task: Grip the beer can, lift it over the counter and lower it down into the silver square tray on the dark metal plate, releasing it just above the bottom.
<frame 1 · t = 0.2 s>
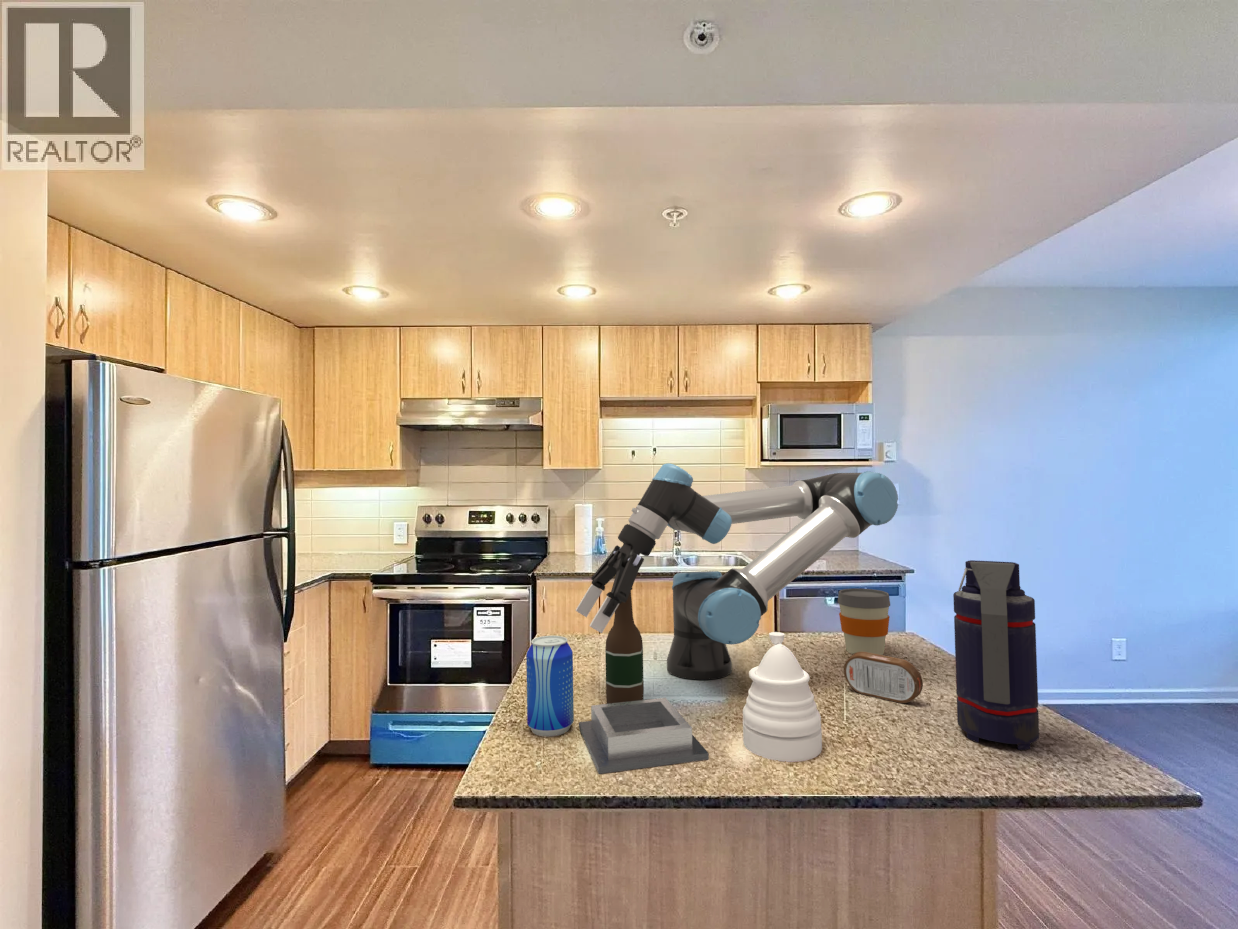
hand: (587, 621, 122), 16 cm above the countertop, tool tilted 35°, fingers open, 13 cm apart
grenade: (997, 739, 102), on the countertop
beer can: (550, 729, 110), on the countertop
tin: (881, 698, 122), on the countertop
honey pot: (781, 745, 102), on the countertop
silver square tray: (639, 742, 103), on the countertop
beer bottle: (625, 705, 121), on the countertop
reusable coffee cup: (865, 652, 155), on the countertop
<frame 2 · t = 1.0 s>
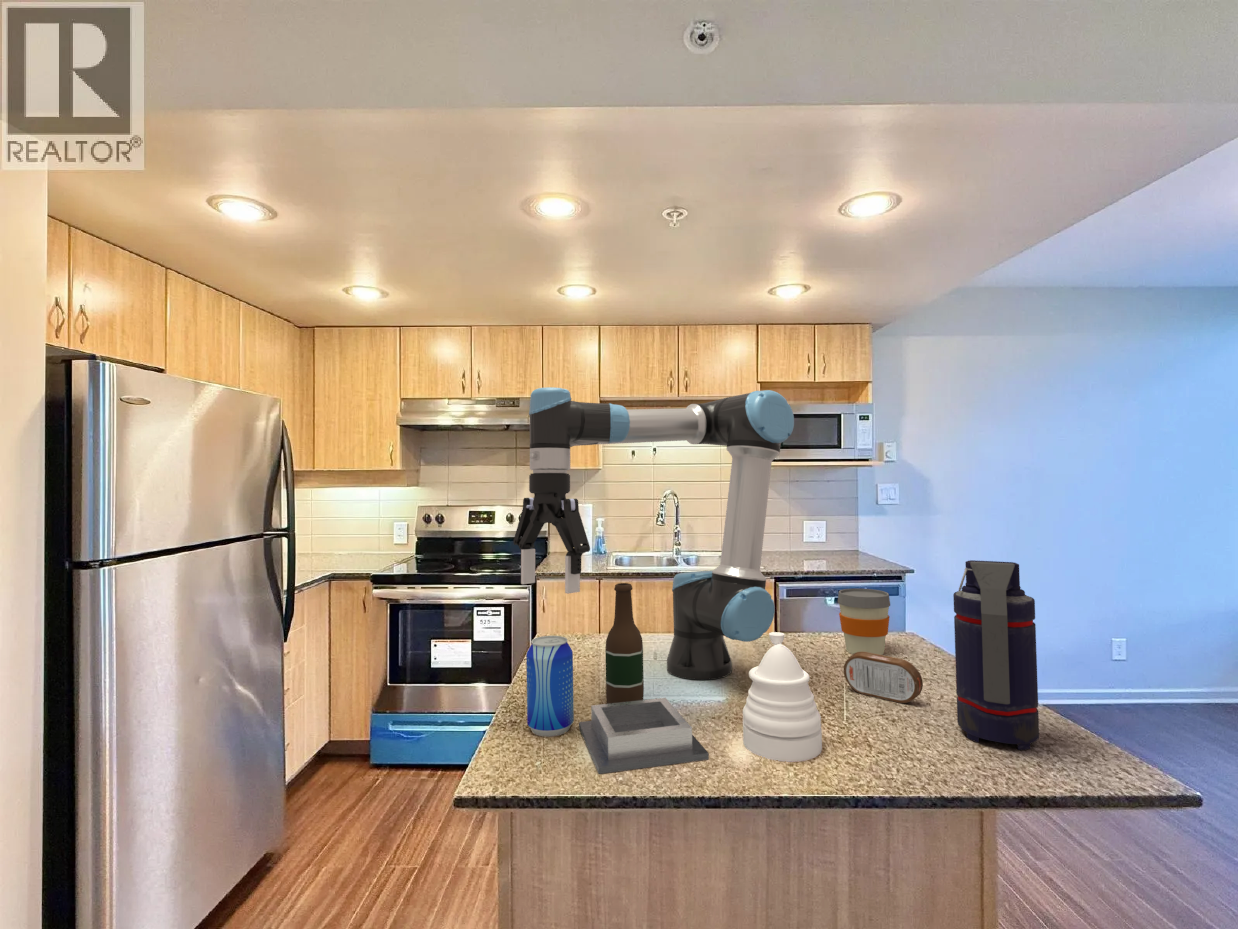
hand: (549, 587, 111), 25 cm above the countertop, tool pointing down, fingers open, 13 cm apart
nothing on the countertop moved.
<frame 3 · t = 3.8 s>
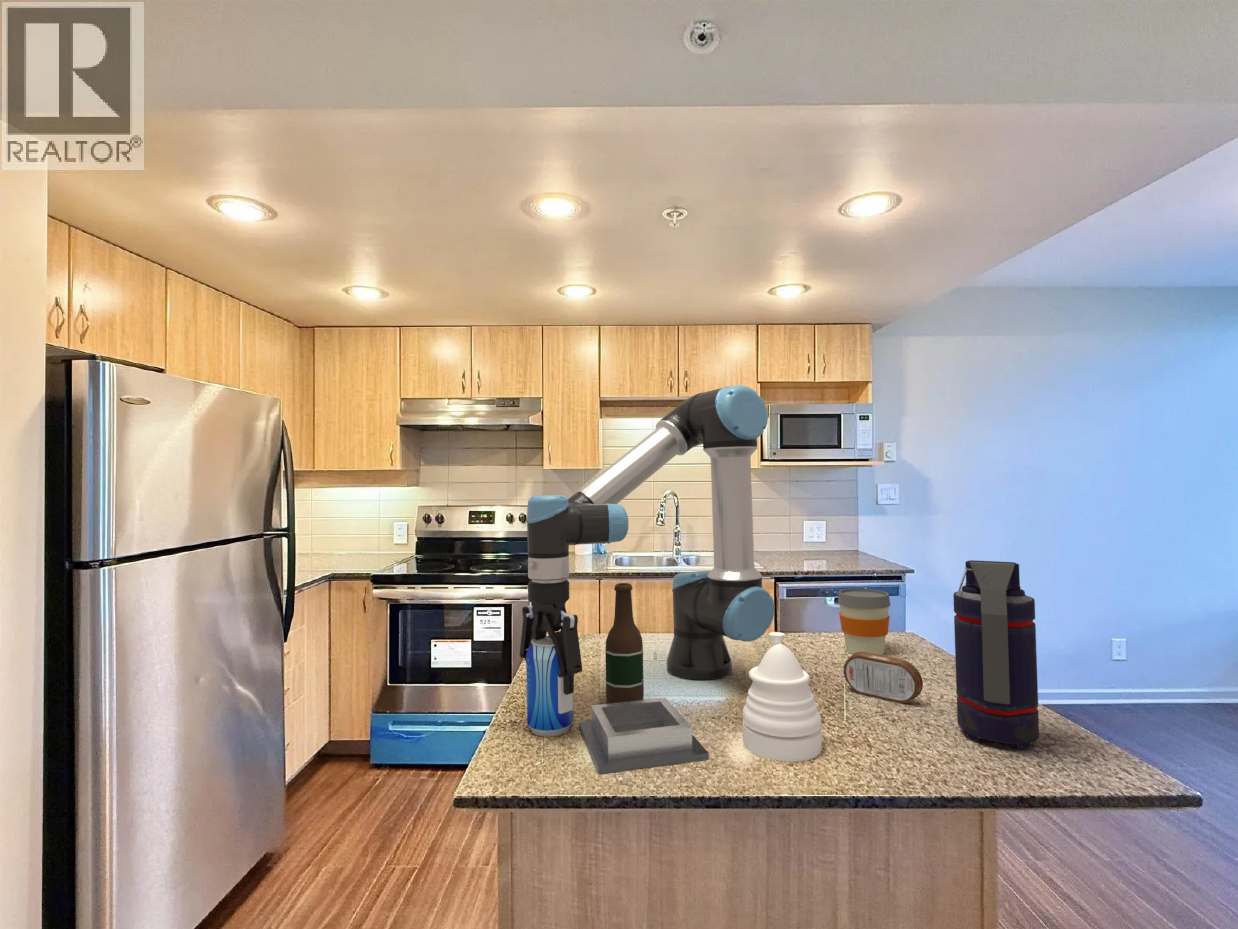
hand: (550, 704, 110), 4 cm above the countertop, tool pointing down, fingers closed on beer can, 8 cm apart
beer can: (550, 729, 110), on the countertop, touching gripper
everything else where it was.
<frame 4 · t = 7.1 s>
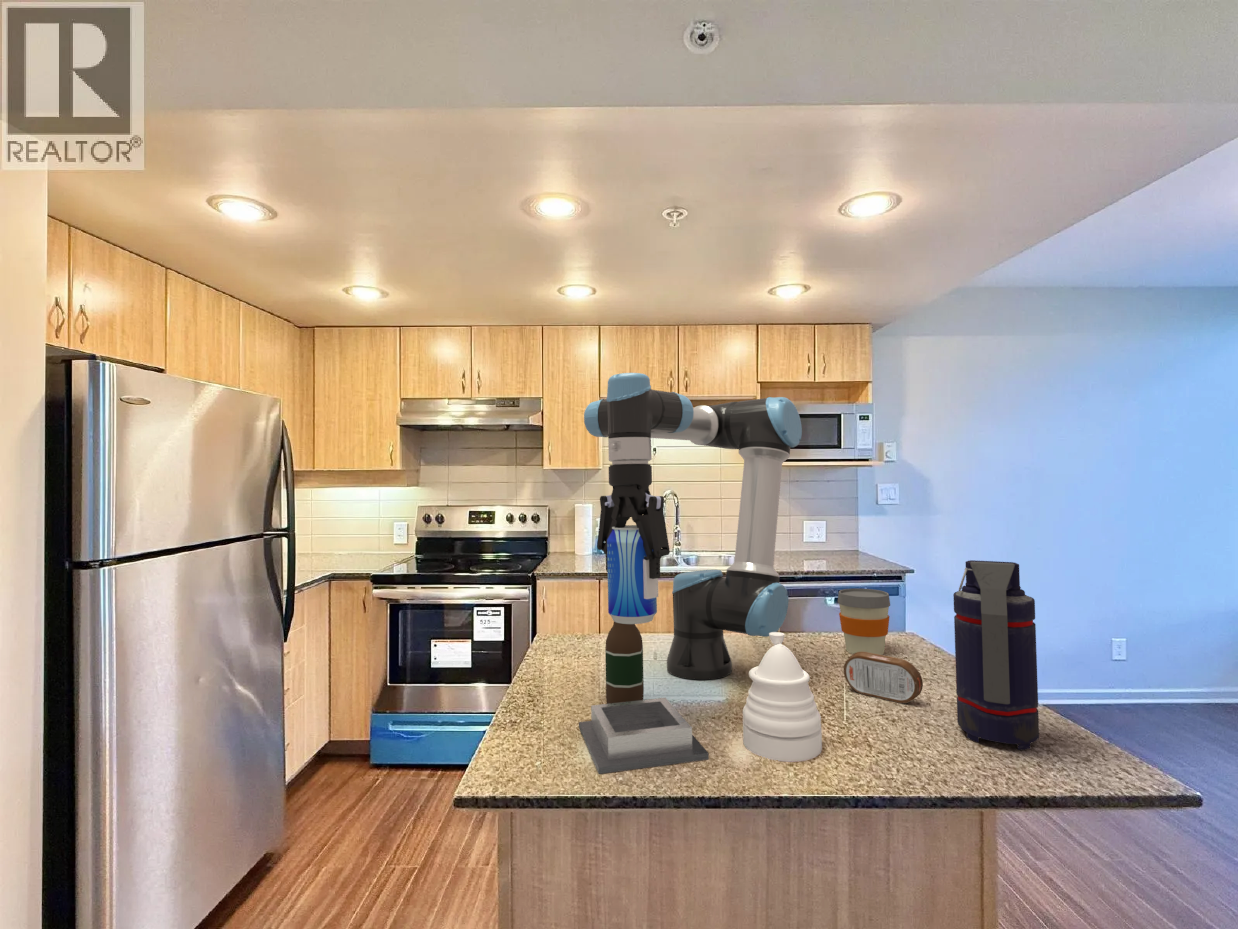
hand: (632, 594, 104), 25 cm above the countertop, tool pointing down, fingers closed on beer can, 8 cm apart
beer can: (632, 620, 104), point 21 cm above the countertop, touching gripper
everything else where it was.
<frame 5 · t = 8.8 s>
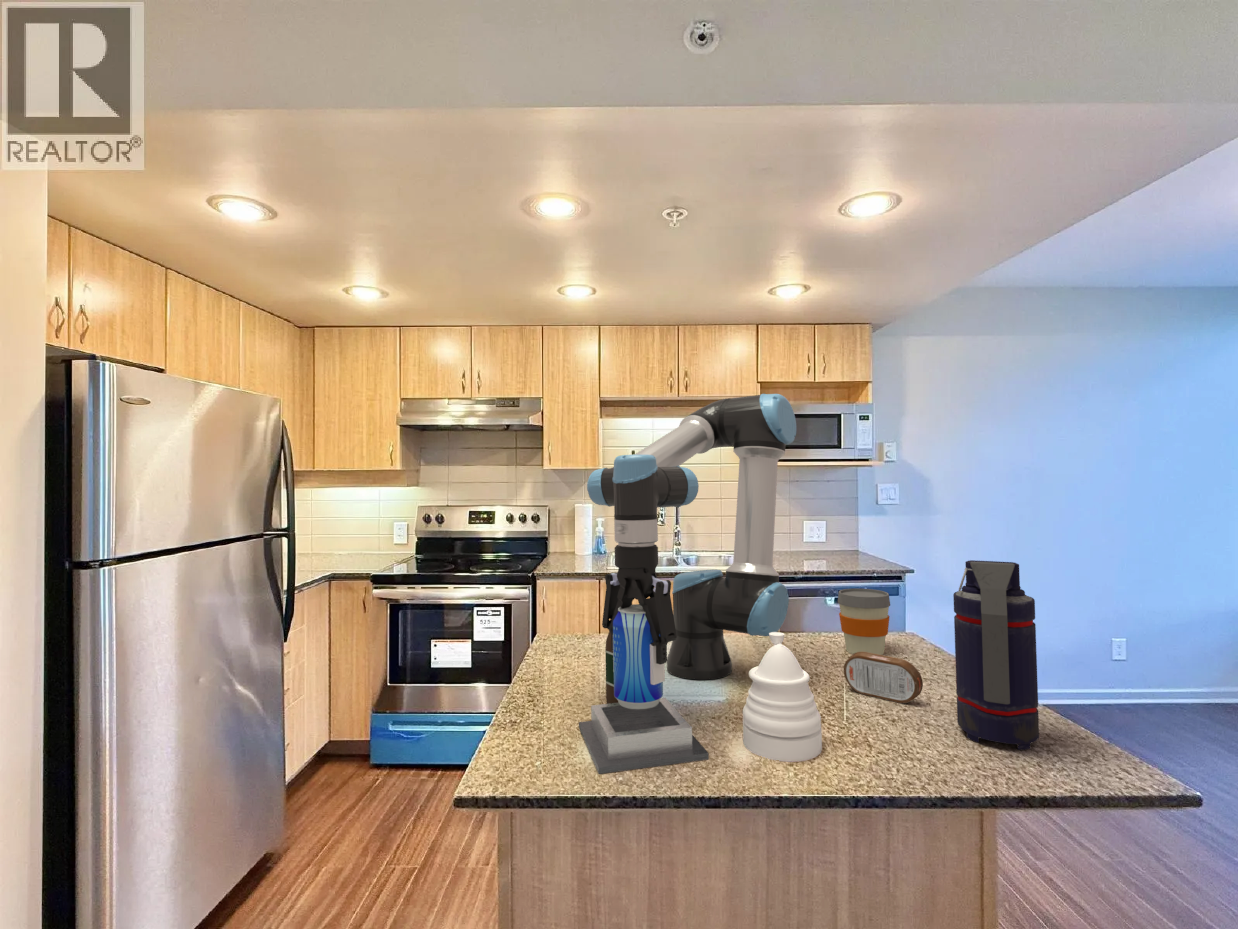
hand: (638, 676, 104), 11 cm above the countertop, tool pointing down, fingers closed on beer can, 8 cm apart
beer can: (638, 703, 103), point 7 cm above the countertop, touching gripper
everything else where it was.
when the fingers open (7 cm above the countertop, at t = 10.2 s): beer can drops 1 cm, resting on silver square tray.
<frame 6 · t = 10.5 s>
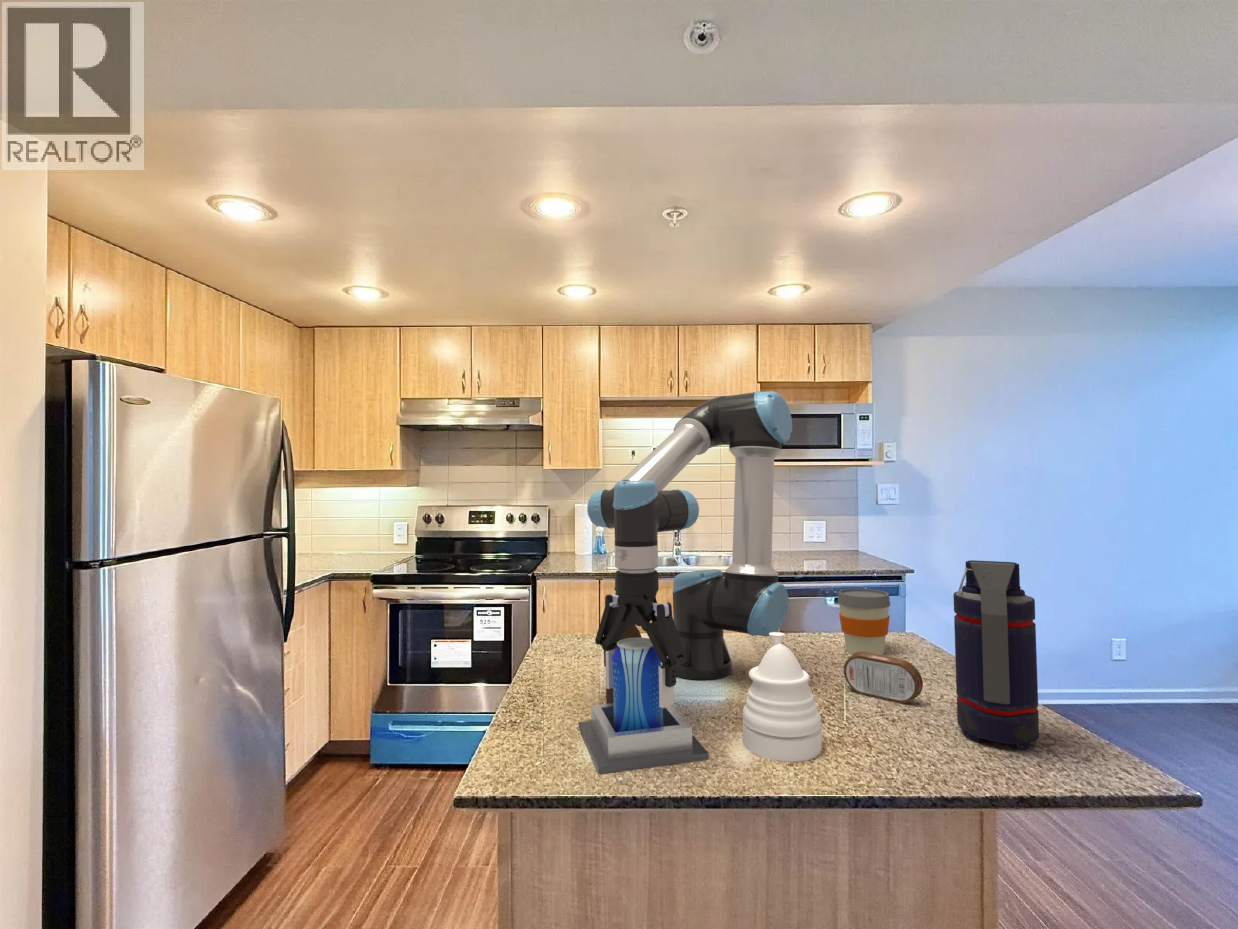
hand: (638, 695, 103), 8 cm above the countertop, tool pointing down, fingers open, 12 cm apart
beer can: (639, 737, 103), point 1 cm above the countertop, touching silver square tray
everything else where it was.
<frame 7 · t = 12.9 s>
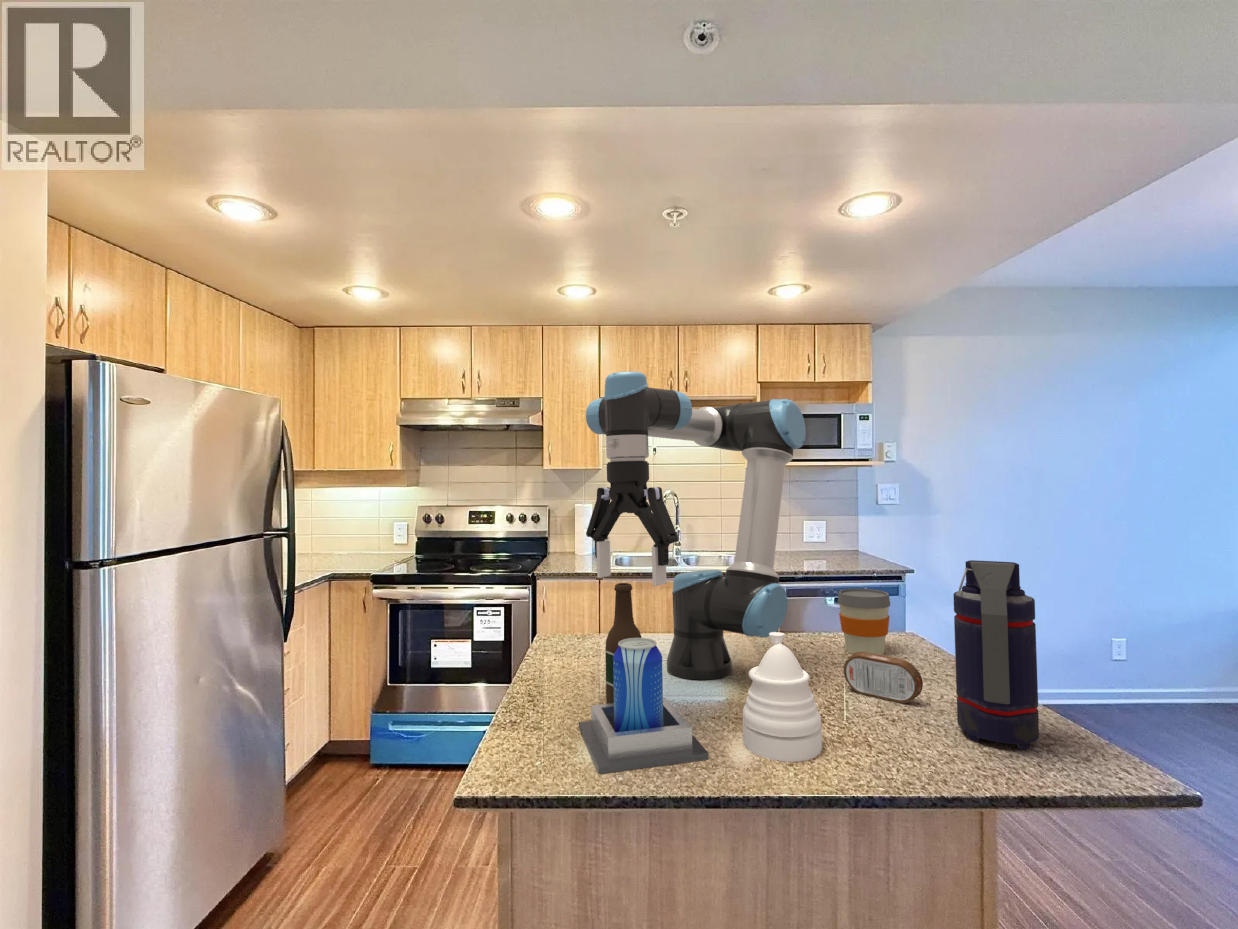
hand: (630, 580, 106), 27 cm above the countertop, tool pointing down, fingers open, 13 cm apart
nothing on the countertop moved.
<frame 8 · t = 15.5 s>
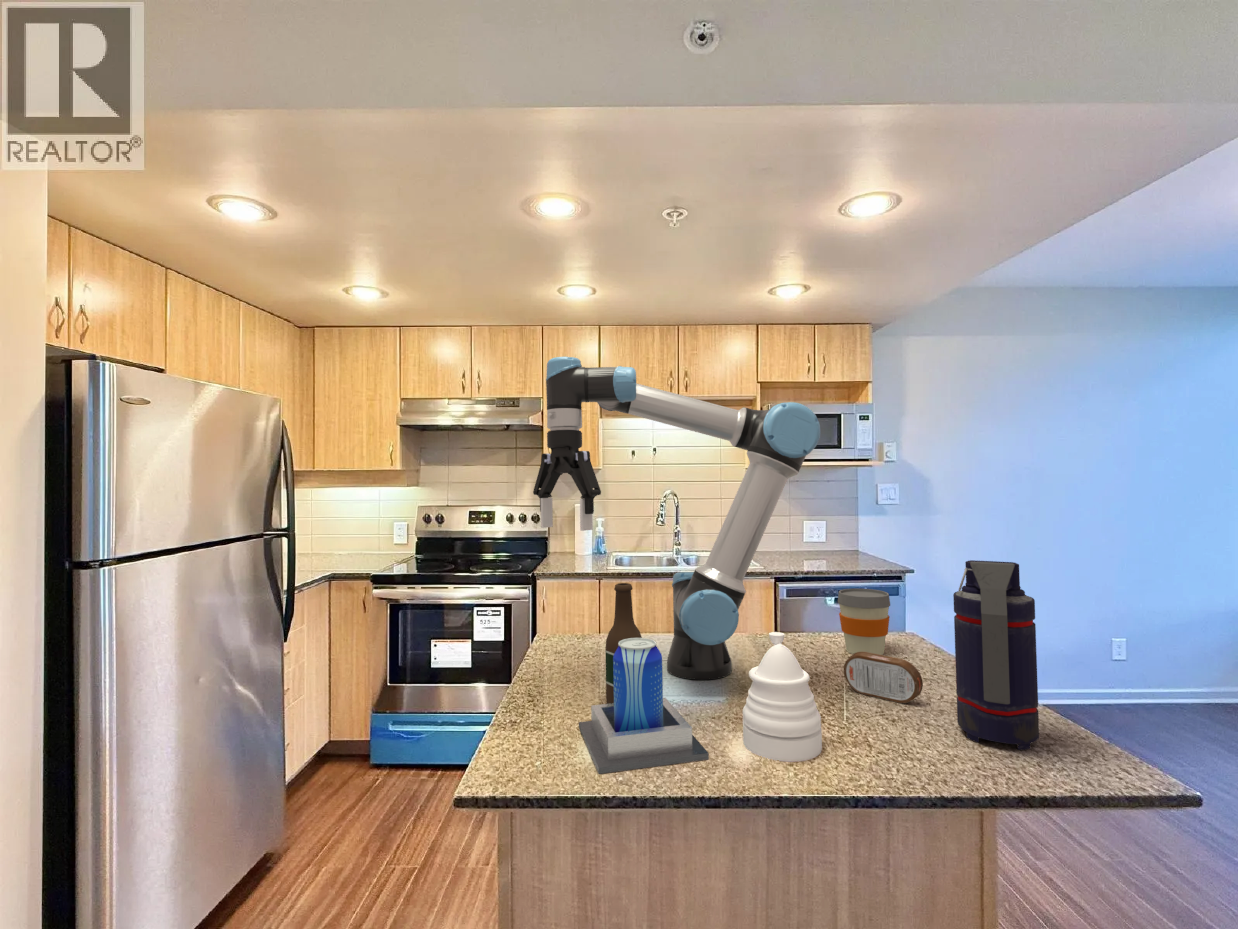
hand: (565, 528, 129), 35 cm above the countertop, tool pointing down, fingers open, 13 cm apart
nothing on the countertop moved.
at the end: beer can 0.1 cm off-centre on the silver square tray, point 0.8 cm above the silver square tray's base; beer can tilted 0°; the gripper is holding nothing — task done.
